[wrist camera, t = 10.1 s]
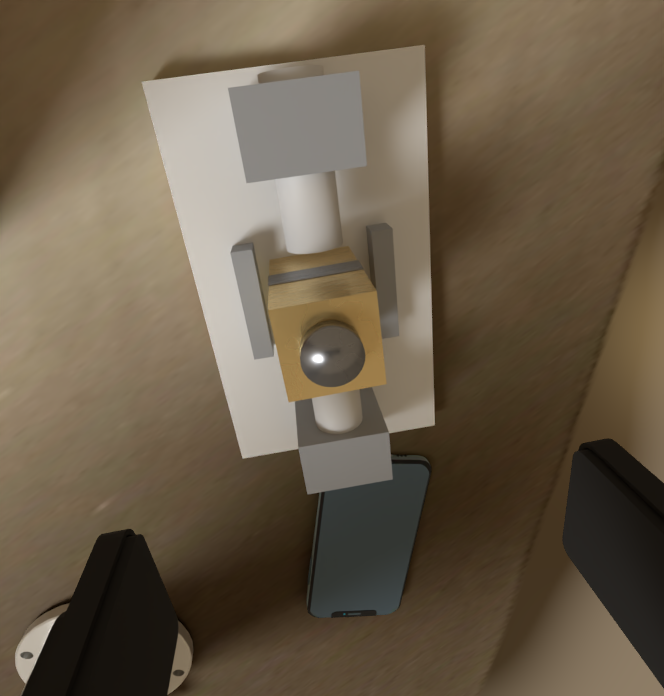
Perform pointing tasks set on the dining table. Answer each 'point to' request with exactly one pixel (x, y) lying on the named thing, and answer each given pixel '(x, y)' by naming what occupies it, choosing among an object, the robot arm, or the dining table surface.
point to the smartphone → (366, 542)
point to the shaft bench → (260, 219)
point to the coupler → (325, 324)
